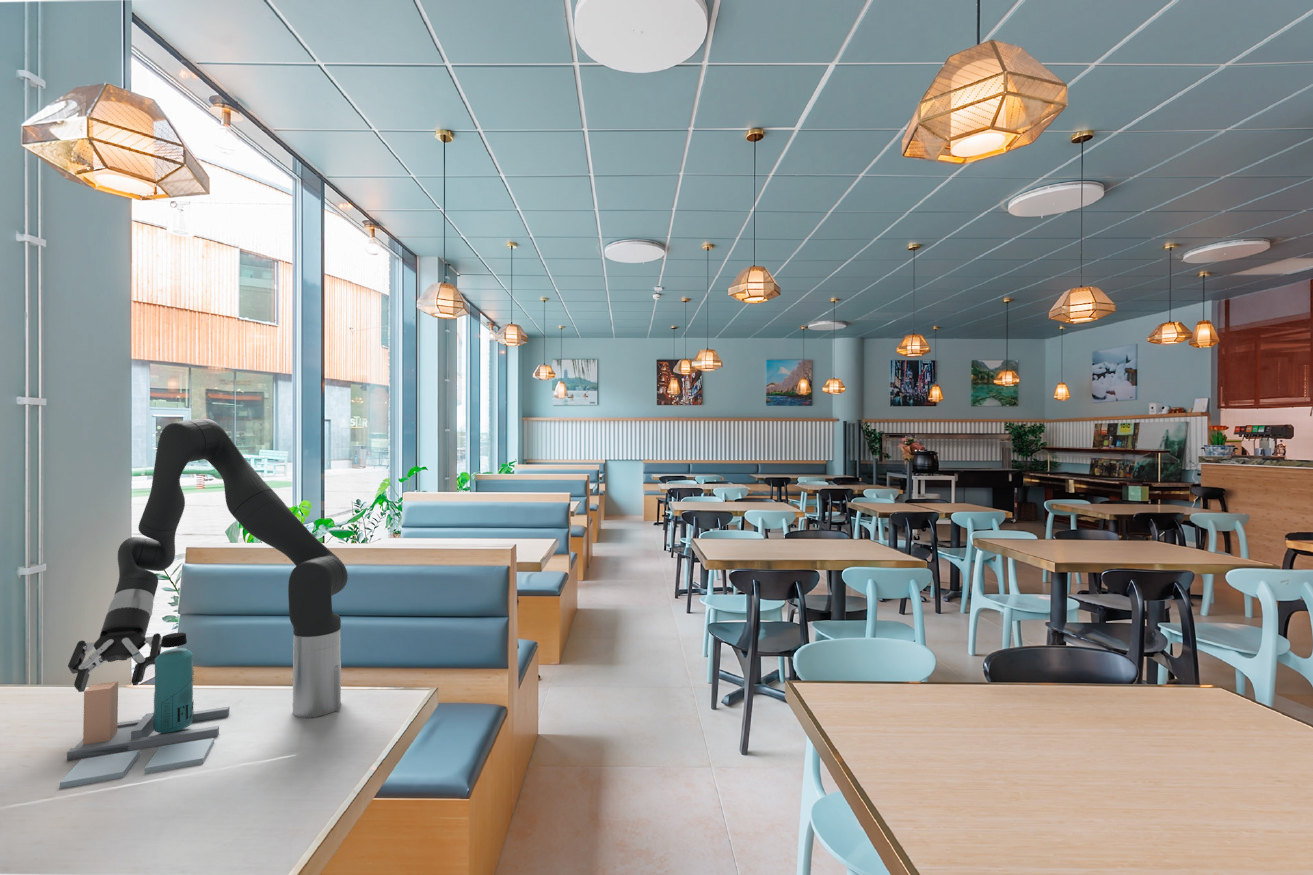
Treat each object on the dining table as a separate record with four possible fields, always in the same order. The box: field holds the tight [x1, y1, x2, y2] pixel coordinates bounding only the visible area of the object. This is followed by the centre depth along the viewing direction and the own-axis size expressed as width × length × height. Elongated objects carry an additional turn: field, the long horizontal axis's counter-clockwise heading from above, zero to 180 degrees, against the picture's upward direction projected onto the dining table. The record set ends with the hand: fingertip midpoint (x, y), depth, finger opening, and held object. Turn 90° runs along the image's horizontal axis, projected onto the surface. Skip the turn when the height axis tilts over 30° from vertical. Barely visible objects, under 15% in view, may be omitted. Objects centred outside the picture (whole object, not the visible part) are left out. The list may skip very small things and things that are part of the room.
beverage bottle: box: [152, 632, 195, 734], centre depth 127 cm, size 6×7×20 cm
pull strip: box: [66, 681, 230, 761], centre depth 126 cm, size 23×12×11 cm, turn 115°
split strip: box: [59, 737, 215, 789], centre depth 114 cm, size 20×9×1 cm, turn 115°
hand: (107, 686), depth 126 cm, fingers open, 8 cm apart
